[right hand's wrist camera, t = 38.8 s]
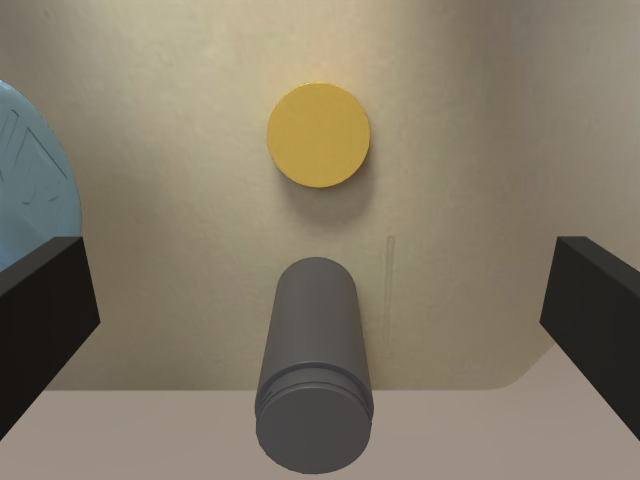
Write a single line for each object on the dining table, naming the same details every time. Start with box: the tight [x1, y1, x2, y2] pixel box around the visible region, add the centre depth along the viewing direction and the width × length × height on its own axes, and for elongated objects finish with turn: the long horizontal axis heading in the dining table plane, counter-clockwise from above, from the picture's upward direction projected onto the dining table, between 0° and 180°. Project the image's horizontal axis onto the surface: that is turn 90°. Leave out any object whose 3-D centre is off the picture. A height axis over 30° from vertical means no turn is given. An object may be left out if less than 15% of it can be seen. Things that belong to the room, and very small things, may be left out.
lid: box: [267, 82, 370, 187], centre depth 39 cm, size 9×9×2 cm
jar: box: [255, 257, 374, 474], centre depth 37 cm, size 8×8×19 cm
